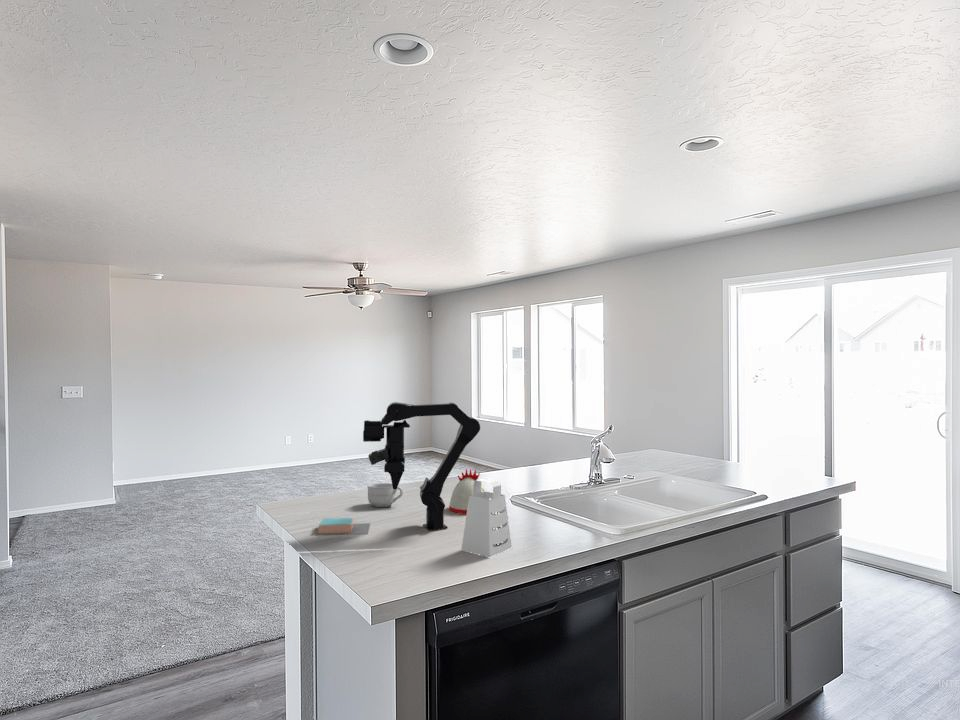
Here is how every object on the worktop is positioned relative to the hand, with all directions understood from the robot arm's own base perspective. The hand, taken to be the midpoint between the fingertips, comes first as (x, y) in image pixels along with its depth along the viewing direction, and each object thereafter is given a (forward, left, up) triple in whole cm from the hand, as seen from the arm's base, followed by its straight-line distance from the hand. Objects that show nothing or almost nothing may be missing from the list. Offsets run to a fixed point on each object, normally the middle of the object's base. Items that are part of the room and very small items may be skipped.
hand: (394, 489), depth 185 cm
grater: (-31, -18, -13) cm, 38 cm away
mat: (+5, +15, -13) cm, 21 cm away
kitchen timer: (+12, -33, -13) cm, 37 cm away
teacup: (+30, -7, -13) cm, 33 cm away
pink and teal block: (+4, +13, -11) cm, 18 cm away
